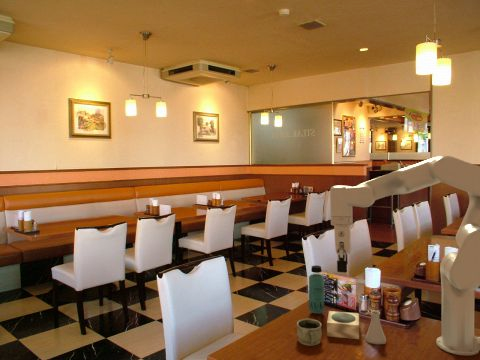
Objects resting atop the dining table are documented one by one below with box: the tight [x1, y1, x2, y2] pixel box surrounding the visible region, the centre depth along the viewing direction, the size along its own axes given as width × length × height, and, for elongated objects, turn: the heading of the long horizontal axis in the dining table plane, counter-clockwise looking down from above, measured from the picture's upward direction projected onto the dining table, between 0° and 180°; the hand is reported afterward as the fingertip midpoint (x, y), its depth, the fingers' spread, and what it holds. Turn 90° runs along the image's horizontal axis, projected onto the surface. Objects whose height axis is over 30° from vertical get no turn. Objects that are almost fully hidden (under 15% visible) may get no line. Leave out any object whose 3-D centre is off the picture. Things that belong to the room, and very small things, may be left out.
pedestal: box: [326, 310, 360, 340], centre depth 146 cm, size 11×11×5 cm
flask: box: [364, 310, 387, 345], centre depth 138 cm, size 7×7×10 cm
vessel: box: [296, 318, 323, 347], centre depth 139 cm, size 12×9×6 cm
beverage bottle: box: [308, 264, 326, 314], centre depth 162 cm, size 6×7×20 cm
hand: (342, 268), depth 141 cm, fingers open, 9 cm apart
